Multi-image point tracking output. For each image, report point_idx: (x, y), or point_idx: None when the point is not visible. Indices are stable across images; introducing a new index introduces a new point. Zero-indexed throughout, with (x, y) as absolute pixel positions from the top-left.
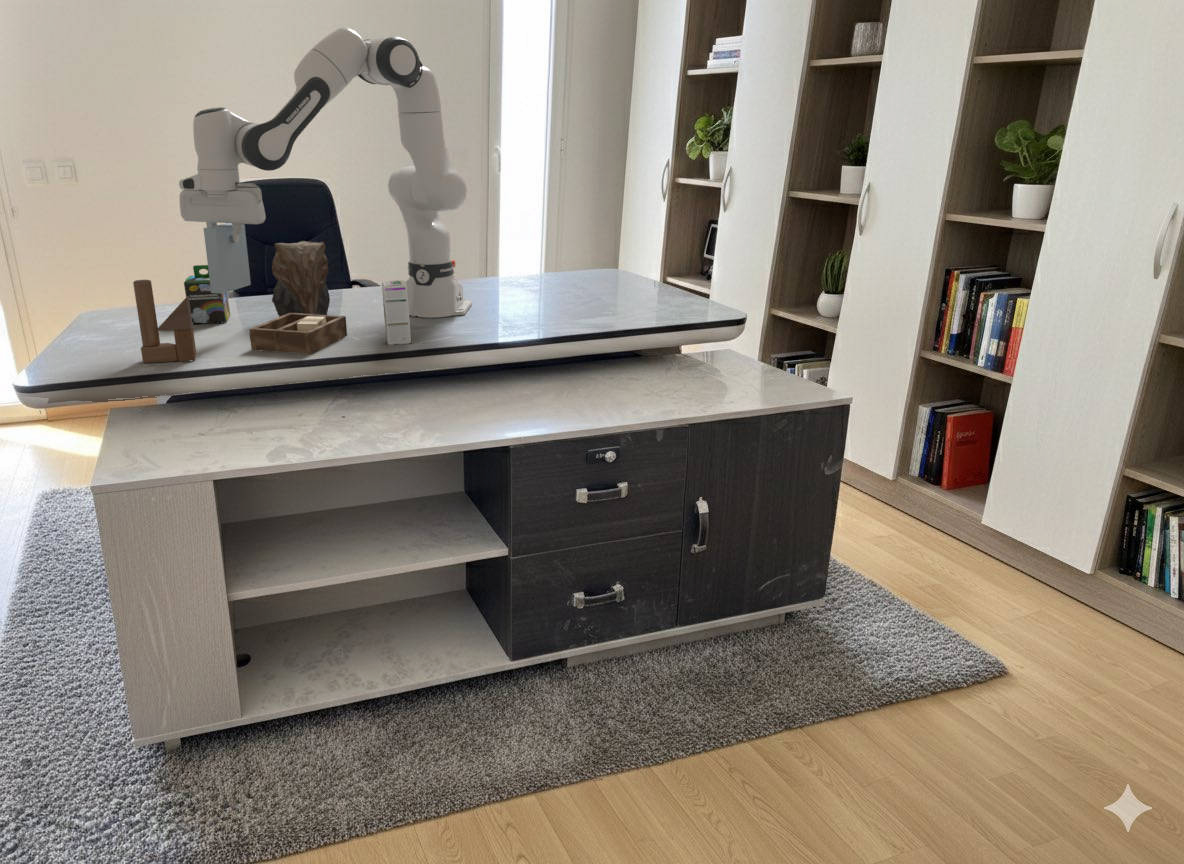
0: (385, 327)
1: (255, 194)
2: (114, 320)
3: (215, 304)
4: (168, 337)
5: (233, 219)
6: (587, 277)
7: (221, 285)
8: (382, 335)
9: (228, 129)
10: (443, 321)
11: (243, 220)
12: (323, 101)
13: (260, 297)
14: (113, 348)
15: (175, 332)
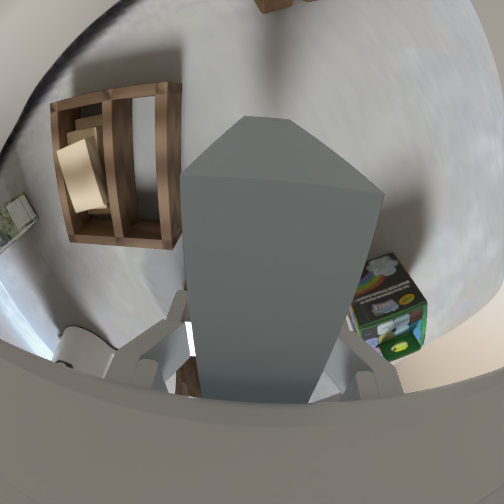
0: (17, 214)
1: None
2: (485, 256)
3: (360, 288)
4: (398, 156)
5: (89, 402)
6: None
7: (243, 117)
8: (55, 239)
9: None
10: (54, 314)
11: (17, 366)
12: None
13: (337, 389)
14: (443, 76)
15: None
